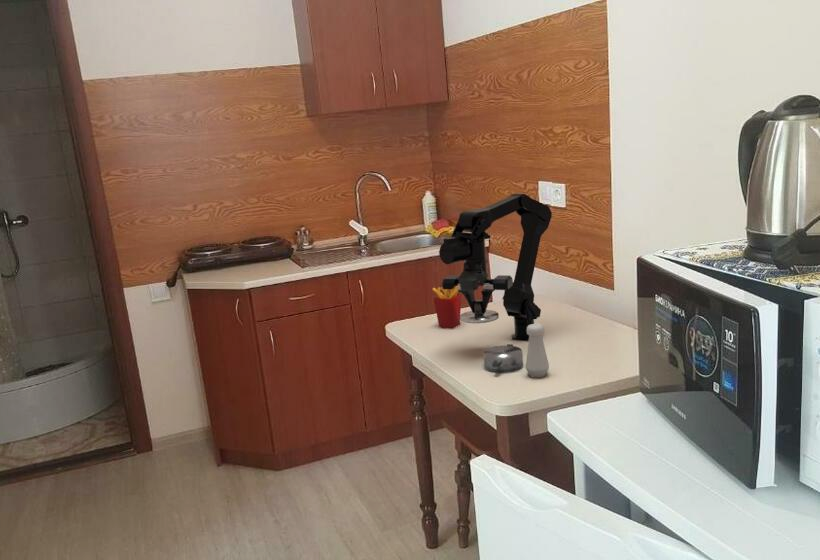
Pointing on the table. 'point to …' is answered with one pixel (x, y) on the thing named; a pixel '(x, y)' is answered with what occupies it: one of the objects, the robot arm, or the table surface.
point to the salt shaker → (536, 352)
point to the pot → (503, 359)
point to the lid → (479, 314)
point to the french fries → (448, 307)
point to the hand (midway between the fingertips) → (479, 312)
